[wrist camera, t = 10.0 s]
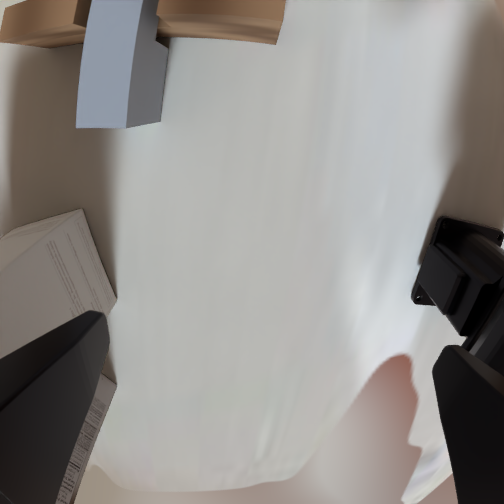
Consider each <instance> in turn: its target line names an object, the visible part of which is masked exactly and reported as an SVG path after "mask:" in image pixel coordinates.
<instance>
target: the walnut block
mask: <svg viewBox="0 0 504 504" xmlns="http://www.w3.org/2000/svg"><path fill="white" fill-rule="evenodd" d="M91 2H92V0H26V1H23V2H20V3H18V4H15V5H12V6H9V7H7V8H5V11H4V16H3V21H2V25H1V31H0V42H3V43H12V44H21V45H29V46H36V47H42V48H54V47H60V46H66V45H73V44H80V43H84V39H85V33H86V28H87V22H88V17H89V12H90V7H91ZM285 2H286V0H159V2H158V7H157V13H156V15H158V16H159V21H158V27H157V33H156V37H191V38H214V39H228V40H240V41H250V42H259V43H266V44H274V45H276V43H277V39H278V36H279V32H280V29H281V25H282V22H283V16H284V9H285Z"/></svg>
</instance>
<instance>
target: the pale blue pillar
mask: <svg viewBox="0 0 504 504" xmlns="http://www.w3.org/2000/svg"><path fill="white" fill-rule="evenodd" d="M158 2H159V0H92V2H91V7H90V12H89V17H88V22H87V28H86V33H85V39H84V46H83V53H82V60H81V68H80V77H79V87H78V98H77V113H76V128H130V127H135V126H140V125H145V124H151V123H156V122H160V118H161V108H162V98H163V89H164V81H165V73H166V65H167V58H168V51H169V49H168V48H166V47H165V46H163V45H161V44H160V43H158V42H156V41H155V39H156V33H157V27H158V21H159V16H158V15H156V13H157V7H158Z"/></svg>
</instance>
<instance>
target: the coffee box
mask: <svg viewBox="0 0 504 504" xmlns="http://www.w3.org/2000/svg"><path fill="white" fill-rule="evenodd" d="M116 388H117V386H116V384H114V383H113V382H112V381H110V380H109V379H108V378H107V377H105V376H104V375H103V374H102V373H101V375H100V378H99V382H98V385H97V389H96V392H95V395H94V398H93V401H92V403H91V406H90V408H89V411H88V413H87V416H86V418H85V421H84V424H83V426H82V429H81V431H80V434H79V437H78V439H77V442H76V445H75V447H74V450H73V453H72V456H71V458H70V461H69V464H68V467H67V470H66V473H65V476H64V479H63V482H62V485H61V488H60V491H59V494H58V497H57V500H56V503H55V504H74V501H75V498H76V495H77V492H78V489H79V486H80V483H81V480H82V477H83V474H84V472H85V469H86V466H87V463H88V460H89V458H90V455H91V452H92V449H93V447H94V444H95V441H96V439H97V436H98V433H99V431H100V428H101V426H102V423H103V421H104V418H105V416H106V413H107V411H108V408H109V406H110V403H111V401H112V398H113V396H114V393H115V391H116Z"/></svg>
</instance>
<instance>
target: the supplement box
mask: <svg viewBox="0 0 504 504" xmlns="http://www.w3.org/2000/svg"><path fill="white" fill-rule="evenodd" d="M116 302H117V299H116V297H115V295H114V292H113V290H112V288H111V285H110V283H109V280H108V278H107V275H106V273H105V270H104V268H103V265H102V263H101V260H100V257H99V255H98V252H97V249H96V247H95V244H94V241H93V238H92V236H91V233H90V230H89V227H88V224H87V221H86V218H85V215H84V212H83V210H82V209H78V210H75V211H71V212H68V213H64V214H61V215H58V216H54V217H50V218H47V219H44V220H41V221H37V222H34V223H31V224H27V225H24V226H21V227H18V228H15V229H13V230H11V231H10V232H9V233H7V234H6V235H5V236H3V237H2V238H0V359H1V358H2V357H4V356H6V355H8V354H9V353H11V352H13V351H15V350H17V349H18V348H20V347H22V346H24V345H26V344H27V343H29V342H31V341H33V340H35V339H36V338H38V337H40V336H42V335H44V334H45V333H47V332H49V331H51V330H53V329H55V328H56V327H58V326H60V325H62V324H64V323H66V322H68V321H69V320H71V319H73V318H75V317H77V316H79V315H80V314H82V313H84V312H86V311H88V310H94V311H99V312H103V313H104V314H105V315H106V318H107V317H108V315H109V313H110V312H111V310H112V308H113V307H114V305H115V303H116Z"/></svg>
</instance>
